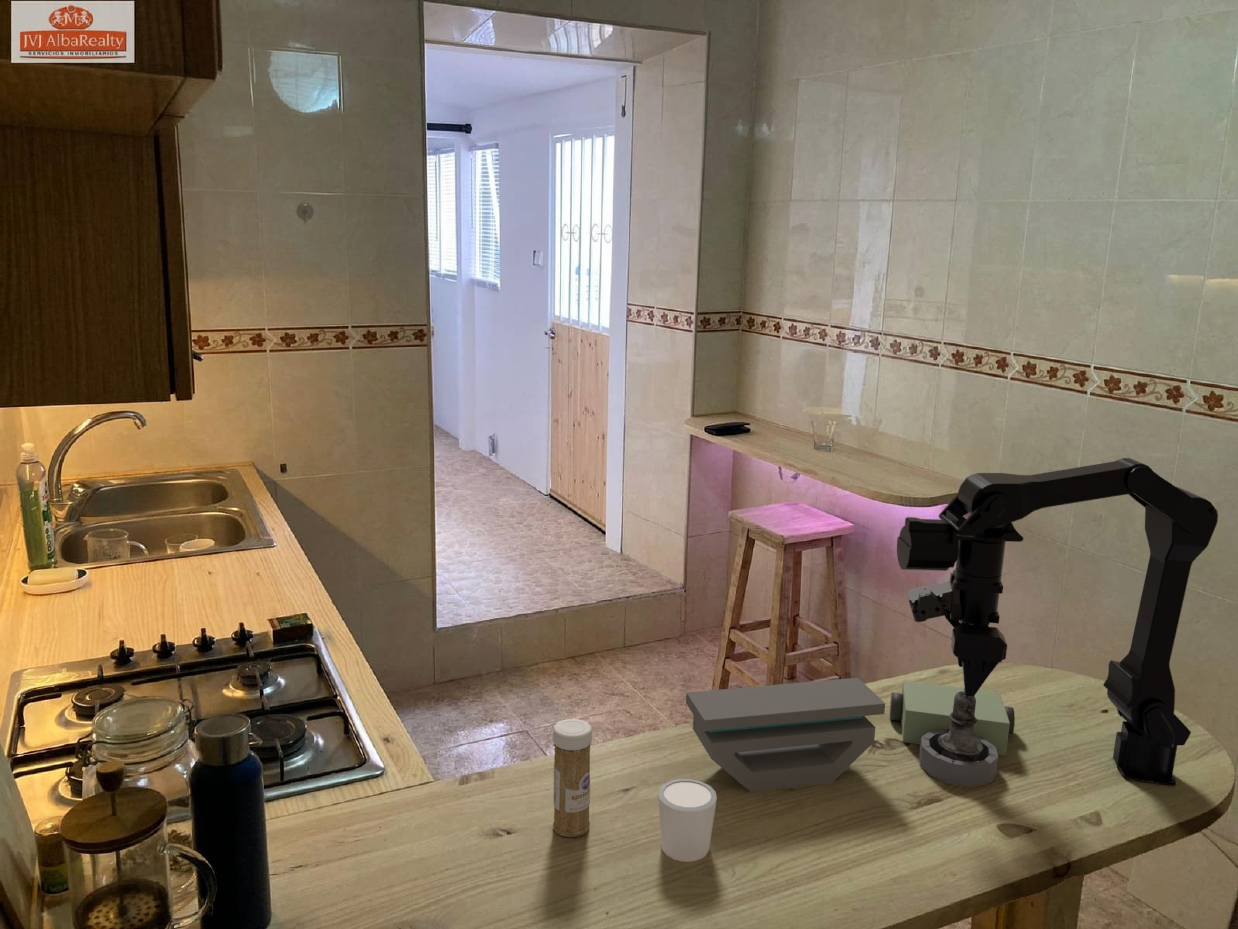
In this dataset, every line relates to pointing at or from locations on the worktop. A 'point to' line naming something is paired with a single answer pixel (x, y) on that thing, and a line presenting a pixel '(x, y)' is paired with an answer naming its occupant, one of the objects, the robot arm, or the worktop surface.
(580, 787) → the sprinkles bottle
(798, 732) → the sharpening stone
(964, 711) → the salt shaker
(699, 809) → the white cup
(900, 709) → the block with end pegs
